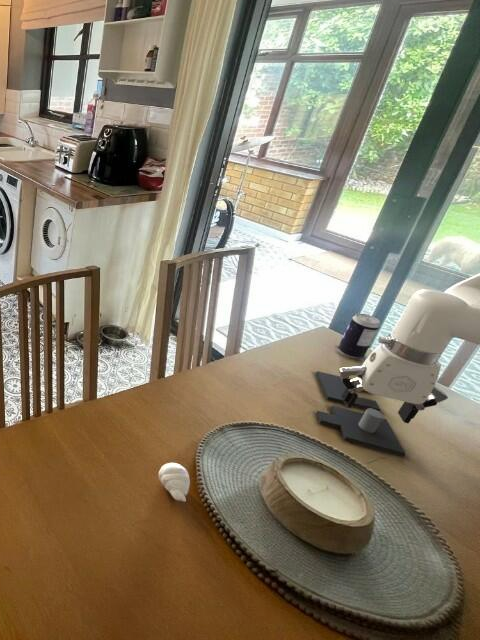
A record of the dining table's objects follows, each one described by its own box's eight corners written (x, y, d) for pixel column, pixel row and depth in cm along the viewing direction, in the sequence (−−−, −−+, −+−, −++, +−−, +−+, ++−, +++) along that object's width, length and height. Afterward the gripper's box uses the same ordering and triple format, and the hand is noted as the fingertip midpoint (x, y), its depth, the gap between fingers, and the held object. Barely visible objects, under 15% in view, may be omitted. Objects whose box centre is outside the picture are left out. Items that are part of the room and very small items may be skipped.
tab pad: (384, 422, 94) (395, 404, 92) (403, 456, 86) (416, 438, 84) (312, 403, 99) (320, 386, 97) (323, 434, 91) (333, 416, 89)
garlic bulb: (163, 507, 77) (169, 488, 75) (154, 477, 82) (159, 459, 80) (193, 510, 76) (200, 492, 74) (183, 481, 82) (189, 462, 79)
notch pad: (363, 384, 105) (365, 382, 104) (379, 412, 97) (380, 409, 96) (315, 373, 109) (316, 370, 108) (326, 399, 100) (328, 396, 100)
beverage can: (360, 351, 117) (379, 316, 111) (365, 362, 112) (384, 327, 107) (335, 344, 119) (352, 310, 114) (338, 355, 115) (355, 320, 110)
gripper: (364, 347, 82) (330, 409, 90) (482, 373, 76) (435, 437, 83) (351, 327, 88) (320, 387, 96) (460, 349, 82) (417, 411, 89)
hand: (373, 410), depth 90 cm, fingers open, 9 cm apart
